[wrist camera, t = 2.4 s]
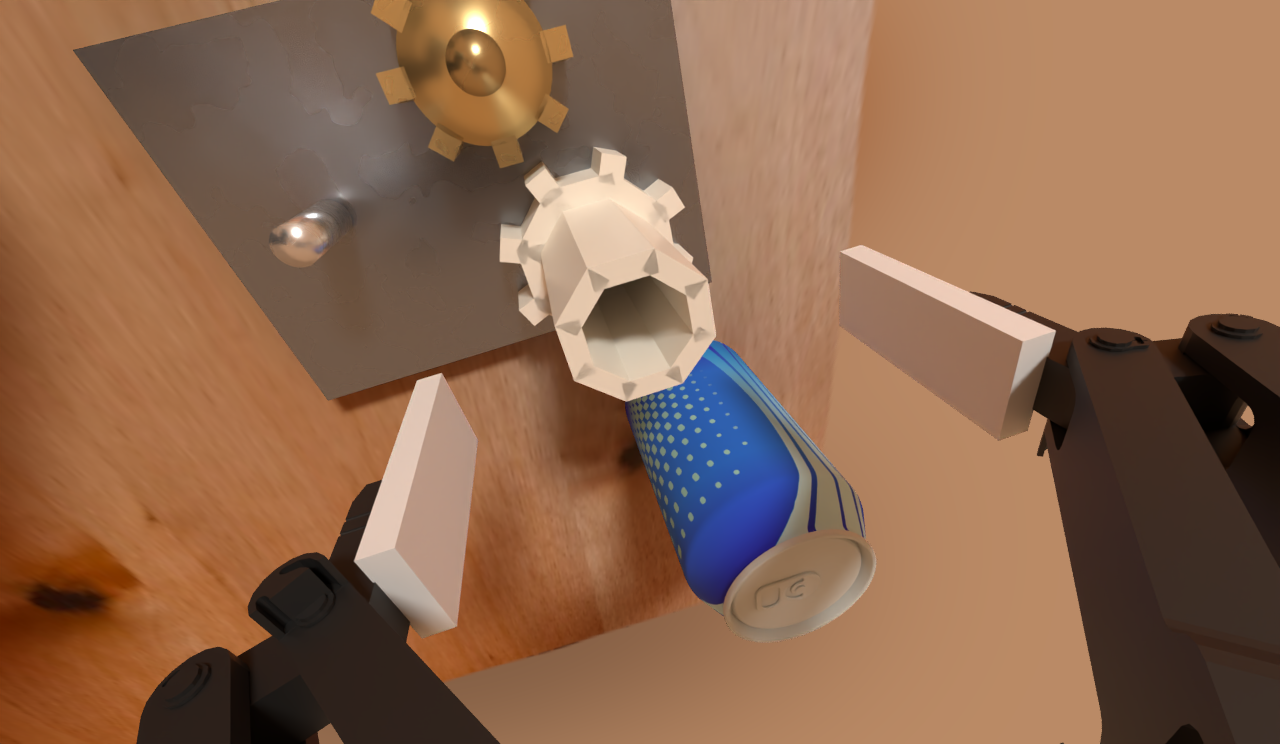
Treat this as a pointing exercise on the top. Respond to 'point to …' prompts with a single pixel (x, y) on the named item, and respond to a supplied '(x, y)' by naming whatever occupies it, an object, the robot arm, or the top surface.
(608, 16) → the plate
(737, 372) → the beer can
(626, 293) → the planet gear
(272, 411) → the top surface
